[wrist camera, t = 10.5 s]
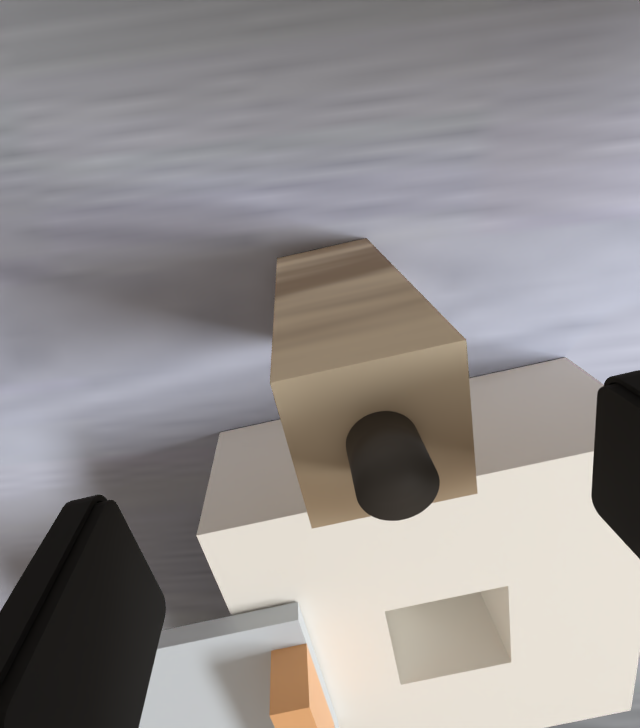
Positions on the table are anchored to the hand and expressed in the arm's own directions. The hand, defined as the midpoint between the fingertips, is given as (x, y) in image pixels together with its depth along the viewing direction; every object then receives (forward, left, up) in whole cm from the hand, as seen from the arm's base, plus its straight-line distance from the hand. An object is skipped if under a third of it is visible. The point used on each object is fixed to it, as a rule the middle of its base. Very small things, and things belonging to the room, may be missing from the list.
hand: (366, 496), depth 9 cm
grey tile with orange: (+15, -8, -6) cm, 18 cm away
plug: (0, +1, -13) cm, 13 cm away
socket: (+15, +3, -13) cm, 20 cm away
